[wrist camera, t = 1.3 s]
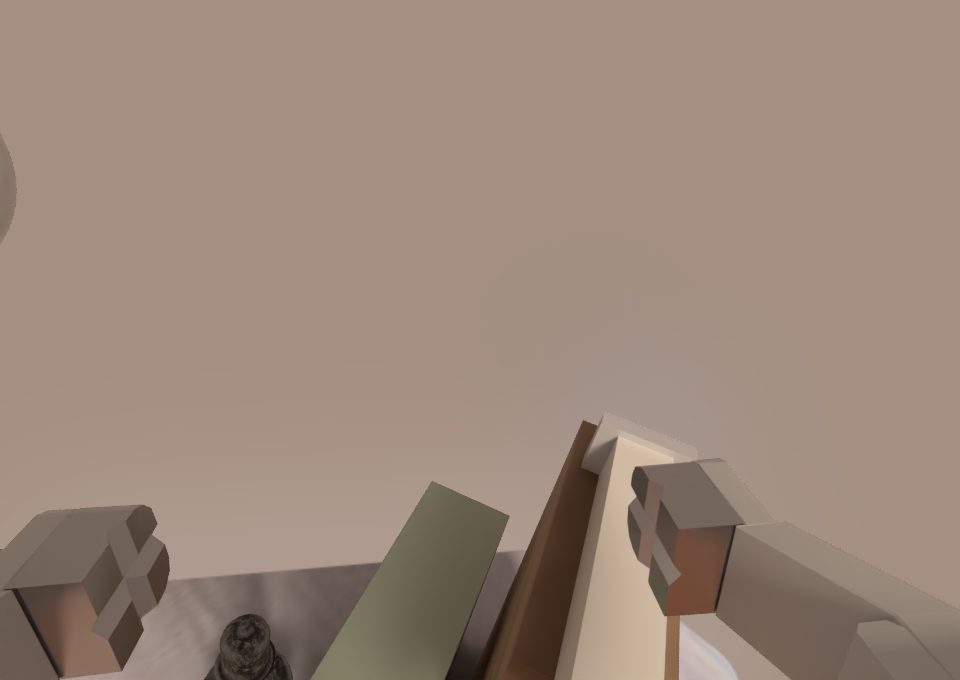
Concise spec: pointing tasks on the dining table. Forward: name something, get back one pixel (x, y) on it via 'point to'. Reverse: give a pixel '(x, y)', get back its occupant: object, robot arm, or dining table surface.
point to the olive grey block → (419, 594)
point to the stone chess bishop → (249, 653)
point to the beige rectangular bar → (616, 565)
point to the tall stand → (552, 583)
